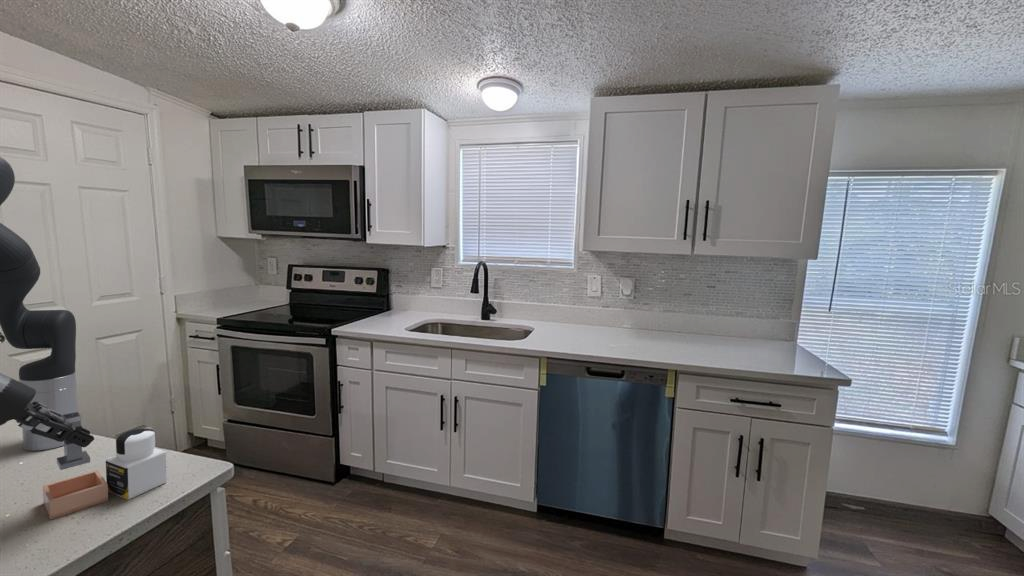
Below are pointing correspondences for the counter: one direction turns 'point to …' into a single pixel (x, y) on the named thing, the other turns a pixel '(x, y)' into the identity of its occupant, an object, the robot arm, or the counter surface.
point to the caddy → (74, 494)
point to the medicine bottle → (135, 464)
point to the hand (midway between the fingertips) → (87, 439)
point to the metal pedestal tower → (72, 445)
